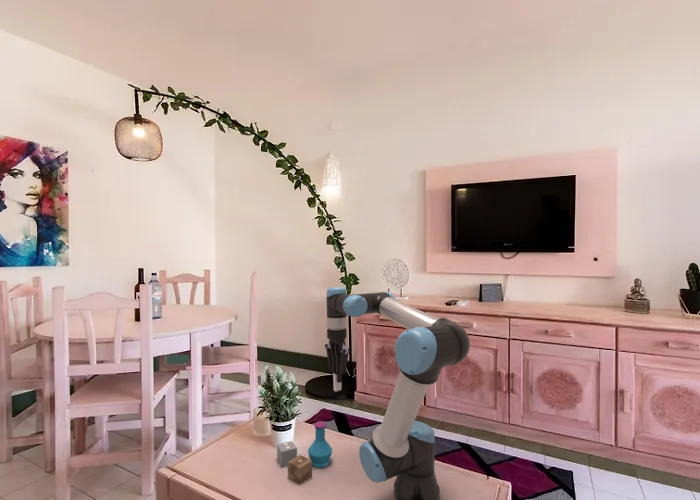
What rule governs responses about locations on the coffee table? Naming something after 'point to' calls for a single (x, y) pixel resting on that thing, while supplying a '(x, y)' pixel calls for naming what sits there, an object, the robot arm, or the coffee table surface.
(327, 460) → the perfume bottle
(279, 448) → the slate block
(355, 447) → the coffee table surface
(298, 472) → the walnut block
